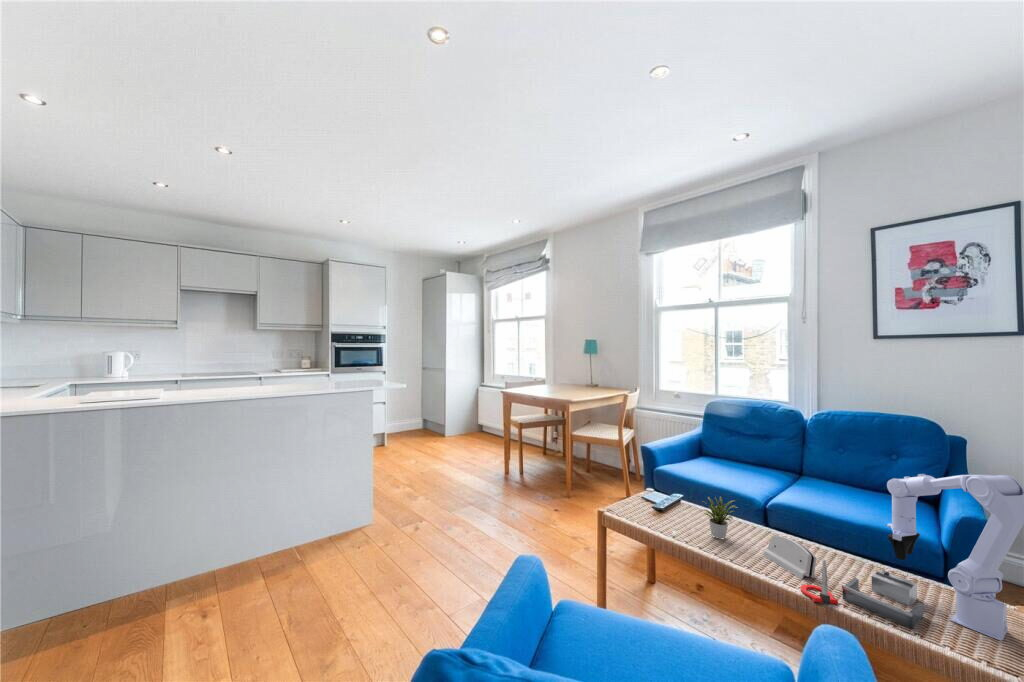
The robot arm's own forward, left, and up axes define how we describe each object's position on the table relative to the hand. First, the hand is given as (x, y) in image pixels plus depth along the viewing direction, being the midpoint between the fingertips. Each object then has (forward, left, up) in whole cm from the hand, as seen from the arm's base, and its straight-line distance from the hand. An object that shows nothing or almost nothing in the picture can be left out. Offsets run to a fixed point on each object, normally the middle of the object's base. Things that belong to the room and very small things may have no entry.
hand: (903, 556), depth 134 cm
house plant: (+51, +19, -10) cm, 55 cm away
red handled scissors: (+13, +31, -10) cm, 35 cm away
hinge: (+26, +19, -10) cm, 34 cm away
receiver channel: (0, +21, -9) cm, 23 cm away
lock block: (0, +10, -10) cm, 14 cm away
